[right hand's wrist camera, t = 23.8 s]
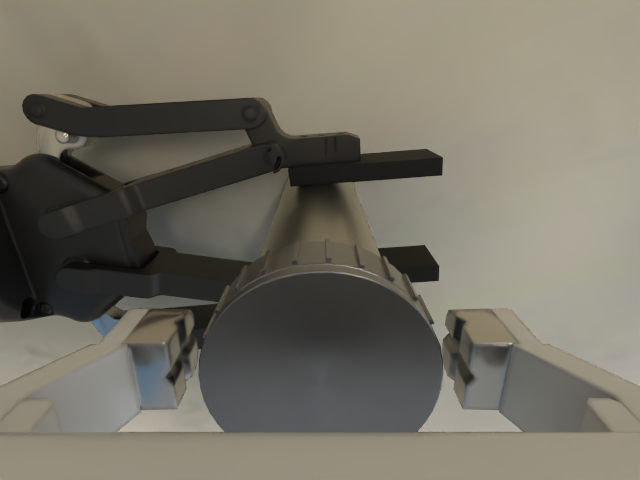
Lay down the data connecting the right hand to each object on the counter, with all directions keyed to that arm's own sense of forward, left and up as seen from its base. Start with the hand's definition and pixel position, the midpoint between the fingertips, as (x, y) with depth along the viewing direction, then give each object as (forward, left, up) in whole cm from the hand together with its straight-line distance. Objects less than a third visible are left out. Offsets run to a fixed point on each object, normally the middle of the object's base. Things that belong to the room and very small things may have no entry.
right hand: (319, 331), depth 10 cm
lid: (0, 0, +2) cm, 2 cm away
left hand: (0, +5, -9) cm, 11 cm away
